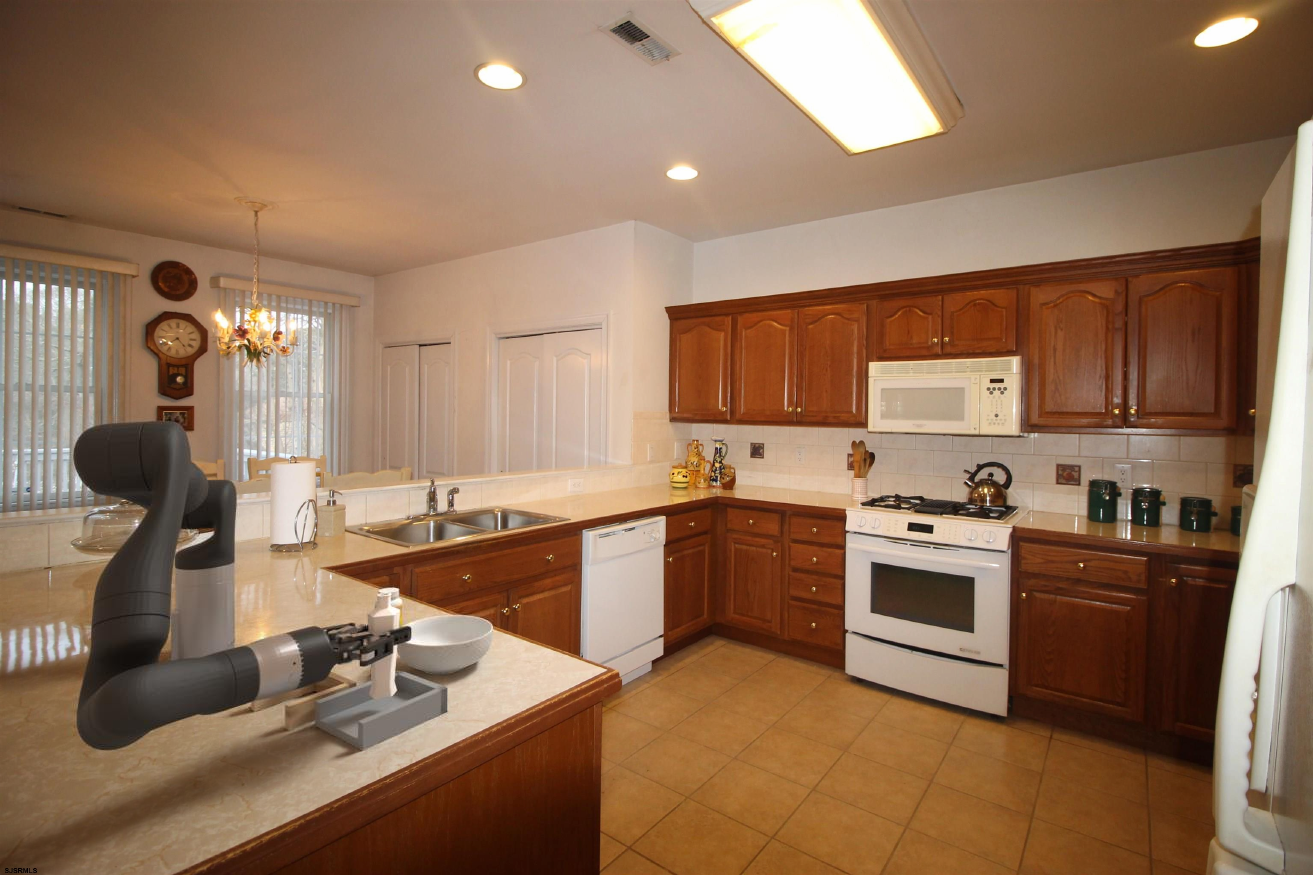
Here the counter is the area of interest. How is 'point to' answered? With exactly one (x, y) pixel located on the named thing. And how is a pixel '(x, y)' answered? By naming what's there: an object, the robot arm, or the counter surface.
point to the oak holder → (305, 700)
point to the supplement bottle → (394, 601)
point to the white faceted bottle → (385, 668)
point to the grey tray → (380, 710)
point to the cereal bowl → (446, 643)
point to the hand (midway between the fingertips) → (399, 629)
